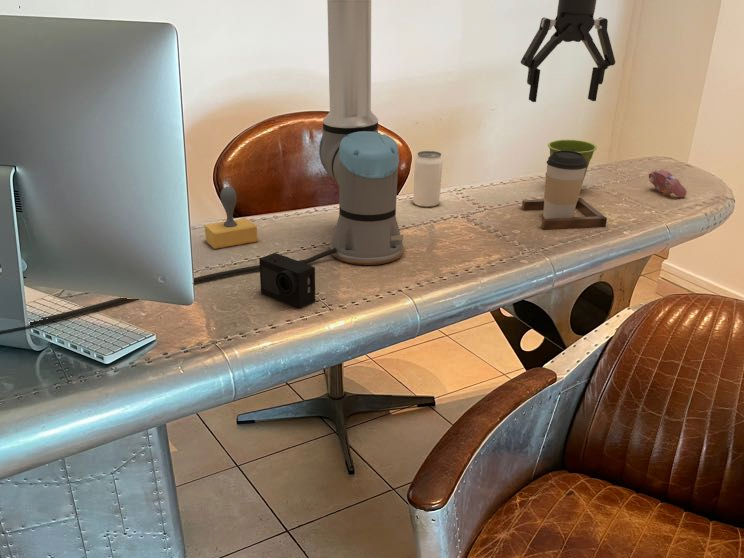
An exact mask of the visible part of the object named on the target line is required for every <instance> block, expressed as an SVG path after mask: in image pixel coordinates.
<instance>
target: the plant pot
mask: <svg viewBox="0 0 744 558" xmlns="http://www.w3.org/2000/svg"><path fill="white" fill-rule="evenodd" d="M547 147H548V148H549V156H551V155H552V154H553V152H554V151H555V152H556V151H561V150H568V151H575V152H579V153H581V154H583V156H584V158H585V159H586V161H587V165H588V166H587V167H586V170H585V173H584V178H586V174H587V171H588V167H589V165H590V161H591V160H592V158H593V155H594V152H595V151H596V150H597V149H598V147H597V145H596V144H594V143H592V142H589V141H585V140H579V139H557V140H553V141H549V143H547Z"/></svg>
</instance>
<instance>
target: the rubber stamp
mask: <svg viewBox="0 0 744 558" xmlns="http://www.w3.org/2000/svg"><path fill="white" fill-rule="evenodd" d="M219 197H220V201H221V204H222V207H223V209H224V212H225V214H226V220H225V221H221V222H214V223H208V224H205V225H204V233H205V242H207V244H209V246H210V247H212V248H213V249H215V250H217V249H224V248H228V247H233V246H234V247H235V246H240V245H246V244H251V243H256V242H258V226H257V225H256V224H255V223H254V222H252V220H250V219H248V218H247V217H245V218H238V219H234V212H235V208H236V205H237V201H238V195H237V193H236V190H235V189H234V188H233V187H231V186H225V187H223V188H222V189H221V191H220V196H219Z"/></svg>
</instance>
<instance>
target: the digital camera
mask: <svg viewBox="0 0 744 558" xmlns="http://www.w3.org/2000/svg"><path fill="white" fill-rule="evenodd" d="M258 265H260V270H259V279H260V280H259V281H260V283H259V284H260V293H261V294H263V295H265V296H268V297H270V298H273V299H275V300H277V301H279V302H282V303H285V304H287V305H290V306H292V307H295V308H297V309H302V308H304V307H306V306H308V305H311V304H313V303H315V302H316V267H315V266H312V265H310V264H309V263H308V264H305V263H303V262H300V260H297V259H294V258H291V257H288V256H286V255H282V254H280V253H277V252H273V253H271V254H267V255H265V256H263V257H260V258H259V263H258Z"/></svg>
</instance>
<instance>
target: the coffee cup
mask: <svg viewBox="0 0 744 558" xmlns="http://www.w3.org/2000/svg"><path fill="white" fill-rule="evenodd" d="M546 164H547V165H546V172H545V177H544V178H545V179H544V195H543V199H544V209H543V211H542V212H543V213H542V217H543V219H551V218H573V217H574V215H575V211H576V208H575V207H576V204H577V202H578V198H580V194H581V192H582V191H581V190H582V187H583V184H584V180H585V177H584V173H585V170H586V167H587V166H588V167H589V165H587V161H586V159H585V158H584V156H583V154H581V153H579V152H575V151H568V150H561V151H556V152H555V151H554V152H553V154H552V155H551V156H550V155H549V156H548V158H547V160H546Z"/></svg>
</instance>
